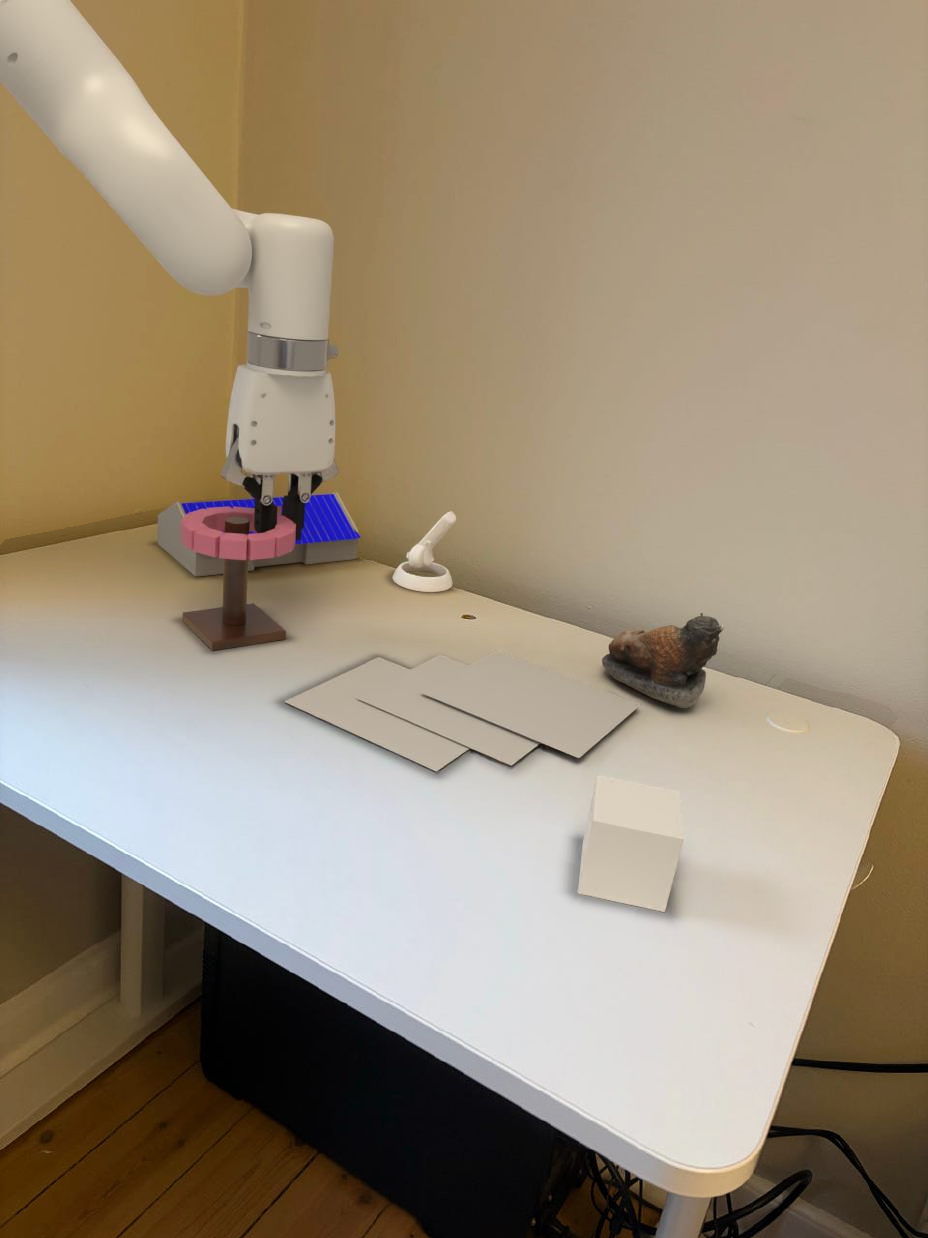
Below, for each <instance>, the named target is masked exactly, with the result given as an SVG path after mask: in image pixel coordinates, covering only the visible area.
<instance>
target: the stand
mask: <svg viewBox="0 0 928 1238" xmlns="http://www.w3.org/2000/svg"><path fill="white" fill-rule="evenodd" d="M249 526H250V521H249V519H247V518H244V517H237V516H233V517H227V518H226V519H225V533H237V534H249ZM222 575H223V576H222V577H223V578H222V606H221V607H213V608H207V609H206V608H205V609H198V610H190V611H183V612H182V618H181V619H182V622H183V623H184V624H185V625H186V626H187V627H188V629H190V630H191V631H192V632H193V633H194V634H195V635H196V636H197V637H198V639H200V640H201V642H203V643H204V644H205V645H206V646H207V647H208V649H210V650H211V652H213V651H220V650H226V649H232V648H239V647H245V646H252V645H256V644H264V643H270V642H277V641H283V640H286V639H287V630H286V629H285V628H284V627H283V626H281V625H280V624H279V623H278V622H276V621H275V620H274V619H273V618H272V617H270V615H268V614H267V613H266V612H265V611H264V610H262V609H261V608H260V607H259V606H258V605H257V604H255V603H254V602H251V603H248V580H249V579H248V578H249V577H248V576H249V571H248V558H247V559H246V560H234V559H224V571H223V574H222Z"/></svg>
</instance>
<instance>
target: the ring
mask: <svg viewBox="0 0 928 1238" xmlns="http://www.w3.org/2000/svg"><path fill="white" fill-rule="evenodd" d="M254 511H255V508H246V507H233V509H232V508H231V507H229V506H228V507H213V508H207V510H206V509H200V510H197V511H193V512H190V513H187V515H185V516H184V517H183V519H182V521H181V542H182V543H183V544H184V545H185V546H186V547H187V548H189V549H190V550H194V552H197V553H200V554H204V555H207V556H211V557H217V556H219V558H221V559H234V560H246V559H247V558H249V559H250V560H258V559H267V558H274V556H276V557H279V556H282V555H284V554H287V553H289V552H291V551H292V550H293V549H294V546H295V538H296V524H294V522H293V521H291V520H290V519H288V518H287V517H285V516H281V514H279V513H277V525H276V526H275V529H272V530H269V531H267V532H264V533H257V532H256V531H255V529H254ZM233 516H237V517H244V518H247V519H249V521H250V526H249V531H251V532H255V534H237V533H225V532H221V531H225V519H226V518H227V517H233Z"/></svg>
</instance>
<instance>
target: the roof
mask: <svg viewBox="0 0 928 1238" xmlns="http://www.w3.org/2000/svg"><path fill="white" fill-rule="evenodd" d="M283 498H284V496H277V497H273V504H275V505H276V506H277V513H279V514H281V516H282V504H283ZM228 506H229V507H231V508H232V509H233V507H246V508H255V499H254V498H246V499H245V498H243V499H230V500H229V499H228V500H213V501H197V502H195V501H194V502H181V501H174V502H173V504H171V505H170V506H169V507H167V508H166V509H164V510H163V511H161V512H160V513H159V514H158V515H157V517H156V520H157V545H158V546H159V547H161V548H162V549H163V550H164V551H165V552H166V553H167V554H169V555H170V557H172V558H173V559H175V560H176V561H177V562H178V563H179V564H180V565H181V566H182V567H184V568H185V569H186V570H187V571H188V572H189V573H190V574H192V576H194V577H195V578H198V577H207V576H214V575H223V571H224V559H221V558H219V556H217V557H211V556H207V555H204V554H200V553H197V552H194V550H190V549H189V548H187V547H186V546H185V545H184V544H183V543H182V542H181V521H182V519H183V517H184V516H185V515H187V513H190V512H193V511H197V510H200V509H206V510H207V508H213V507H228ZM221 532H225V531H221ZM359 532H360V531H359V529H358V527H357V526H356V524H355V522H354V520H353V518H352V517H351V515H350V512H349V511H348V509H347V507H346V506H345V504H344V502H343V500H342V498H341V496H340V494H339V493H338V491H333V492H332V493H327V494H325V493H324V494H311V498H310V500H309V501H308V502H307V503H305V515H304V528H303V529H302V530H301V539H300V540H298V541H295V546H294V549H293V550H292V551H291V552H289V553H287V554H284V555H282V556H279V557H276V556H274V558H267V559H258V560H250V559H249V558H248V572H252V571H255V568H258V567H259V568H260V567H268V566H278V565H286V564H296V563H303V564H304V565H313V564H323V563H332V562H341V561H342V562H343V561H350V560H351V561H352V560H357V558H358V557H357V556H358V546H359V539H361V536H360V534H359ZM249 534H255V532H251V531H249Z"/></svg>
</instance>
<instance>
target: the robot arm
mask: <svg viewBox="0 0 928 1238" xmlns="http://www.w3.org/2000/svg"><path fill="white" fill-rule="evenodd" d="M0 83H1V84H2V85H3V86H4V88H5V89H6V90H7V91H8V92H9V93H10V94H11V96H12V97H13V98H14V99H15V101H16V102H17V103H18V104H19V106H21V108H22V109H23V110H24V111H25V113H26V114H27V115H28V116H29V117H30V118H31V119H32V121H33V122H34V123H35V124H36V126H38V127H39V128H40V130H41V131H42V132H43V133H44V134H45V135H46V137H47V138H48V139H49V140H50V141H51V142H52V144H53V145H54V147H56V150H58V151H59V152H60V153H61V154H62V156H64V157H65V159H67V160H68V161H69V162H70V163H71V164H72V165H73V166H75V168H76V169H78V171H79V172H80V173H81V174H82V175H83V176H84V178H85V179H87V181H88V182H89V183H90V184H91V185H92V186H93V188H94V189H95V190H96V191H97V192H98V194H100V196H101V197H102V198H103V200H105V202H106V203H107V204H108V205H109V207H110V208H111V209H112V210H113V211H114V212H115V214H116V215H117V216H118V217H119V218H120V219H121V220H122V222H123V223H124V224H125V225H126V226H127V228H128V229H129V230H130V231H131V232H132V234H133V235H135V237H136V238H138V240H139V241H140V242H141V244H142V245H143V246H144V247H145V248H146V249H147V250H148V252H150V254H151V255H152V256H153V257H154V258H155V260H156V261H157V262H158V263H159V264H160V266H161V267H162V268H163V269H164V270H165V271H166V272H167V273H168V275H169V276H170V277H171V278H173V280H174V281H176V282H177V283H178V284H179V285H180V286H182V287H183V288H184V289H186V290H188V291H189V292H192V293H194V294H198V295H200V296H201V295H202V296H208V297H209V296H210V297H211V296H220V295H223V294H227V293H229V292H231V291H232V290H234V289H236V288H238V289H239V288H243V289H244V288H246V289H247V290H248V311H247V312H248V313H247V333H246V334H247V335H246V336H247V337H246V338H247V339H246V342H247V343H246V364H238V365H237V368H236V372H235V375H234V379H233V384H232V388H231V394H230V399H229V406H228V414H227V422H226V435H225V457H226V459H225V460H226V461H225V462H224V465H223V467H222V469H221V472H220V476H221V478H222V479H224V480H226V481H227V482H229V483H231V484H233V485H236V486H239V487H241V488H243V489H244V490H245V491H246V492H247V493H248V494H249V495H250V497H251V498H252V499H255V511H254V529H255V531H256V532H257V533H264V532H267V531H269V530H272V529H275V526H276V525H277V506H276V505H275V504H273V498H274V486H275V475H287V476H288V477H287V478H288V480H287V495H283V497H284V498H283V504H282V516H285V517H287V518H288V519H290V520H291V521H293V522H294V524H296V538H295V541H298V540H300V539H301V530H302V529H303V528H304V515H305V503H307V502H308V501H309V500H310V498H311V495H313V493H314V492H315V491H317V489H318V488H319V487H320V486H321V485H322V483H324V482H327V481H329V480H331V479H333V478H334V477H337V476H338V474H339V468H338V465H337V461H336V459H335V451H336V427H337V425H336V419H337V418H336V401H335V391H334V385H333V378H332V373H331V372H330V371H327V368H328V365H329V360H331V359H337V358H338V356H339V348H338V346H337V345H336V344H331V343H330V339H328V338H329V327H330V312H331V311H330V310H331V297H332V296H331V294H332V281H333V279H332V278H333V265H334V264H333V263H334V262H333V261H334V248H335V247H334V243H335V240H334V239H335V237H334V233H333V230H332V228H331V226H330V225H329V224H328V223H327V222H325V221H323V220H321V219H318V218H314V217H313V218H312V217H307V216H301V215H300V216H299V215H294V214H285V213H276V212H264V213H260V214H256V213H253V212H247V211H242V210H240V209H235V208H232V207H231V206H230V205H229V203H228V202H227V201H226V200H225V198H224V197H223V196H222V195H221V193H220V192H219V191H218V190H217V189H216V187H215V186H214V184H213V183H212V182H211V181H210V179H208V177H207V176H206V175H205V173H203V171H202V170H201V169H200V167H199V166H198V165H197V164H196V162H195V161H194V160H193V158H192V157H191V156H190V155H189V153H188V152H187V151H186V150H185V149H184V148H183V146H182V145H181V143H180V142H179V141H178V140H177V138H176V137H175V136H174V135H173V134H172V132H171V131H170V130H169V129H168V127H167V126H166V125H165V123H164V122H163V121H162V120H161V118H160V117H159V116H158V114H157V113H156V112H155V111H154V109H153V108H152V106H151V105H150V104H149V102H148V101H147V99H146V97H145V96H144V94H143V93H142V91H141V89H140V87H139V86H138V84H137V83H136V81H135V80H134V79H133V77H132V76H131V75H130V73H129V72H128V71H127V69H126V68H125V67H124V65H123V64H122V63H121V62H120V61H119V59H118V58H117V57H116V55H115V54H114V53H113V52H112V50H111V49H110V48H109V47H108V45H106V42H104V41H103V40H102V38H101V37H100V36H99V35H98V33H97V32H96V31H95V30H94V28H93V27H92V26H91V24H90V23H89V22H88V21H87V20H86V19H85V17H84V16H83V15H82V13H81V12H80V11H79V9H78V8H77V7H76V6H75V5H74V3H73V2H72V1H71V0H0ZM242 470H243V471H245V472H246V473H248V474H246V473H244V472H243V471H242ZM249 474H250V475H249Z"/></svg>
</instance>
